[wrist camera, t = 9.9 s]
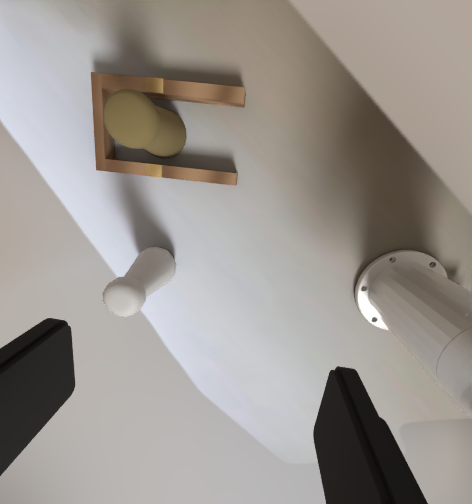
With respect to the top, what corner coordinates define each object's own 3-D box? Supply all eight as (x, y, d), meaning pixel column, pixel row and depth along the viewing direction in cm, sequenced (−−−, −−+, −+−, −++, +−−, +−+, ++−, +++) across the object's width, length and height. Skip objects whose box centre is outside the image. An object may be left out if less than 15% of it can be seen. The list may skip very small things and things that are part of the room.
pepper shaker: (191, 154, 34) (163, 145, 24) (148, 162, 35) (103, 156, 24) (180, 104, 33) (146, 70, 22) (136, 113, 33) (82, 85, 23)
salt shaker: (143, 240, 38) (90, 272, 26) (181, 245, 38) (146, 280, 26) (142, 276, 40) (93, 321, 28) (178, 281, 40) (144, 329, 27)
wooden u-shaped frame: (245, 93, 32) (245, 86, 29) (236, 184, 35) (235, 185, 32) (102, 79, 32) (89, 71, 30) (106, 170, 36) (95, 170, 33)
